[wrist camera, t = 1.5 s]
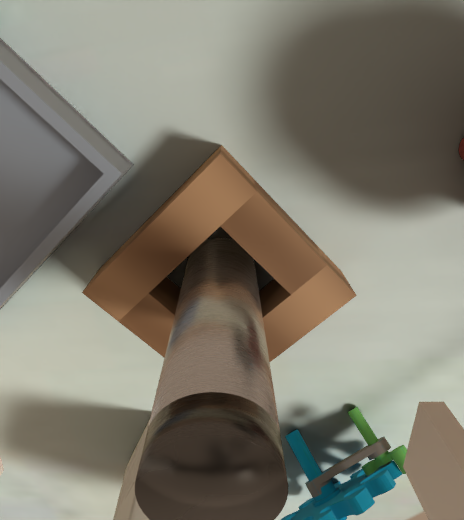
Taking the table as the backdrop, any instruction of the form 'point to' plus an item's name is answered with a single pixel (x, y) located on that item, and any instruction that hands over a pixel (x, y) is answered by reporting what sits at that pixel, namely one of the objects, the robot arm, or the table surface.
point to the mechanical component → (461, 149)
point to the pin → (214, 401)
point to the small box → (131, 487)
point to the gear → (361, 483)
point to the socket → (245, 234)
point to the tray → (44, 170)
